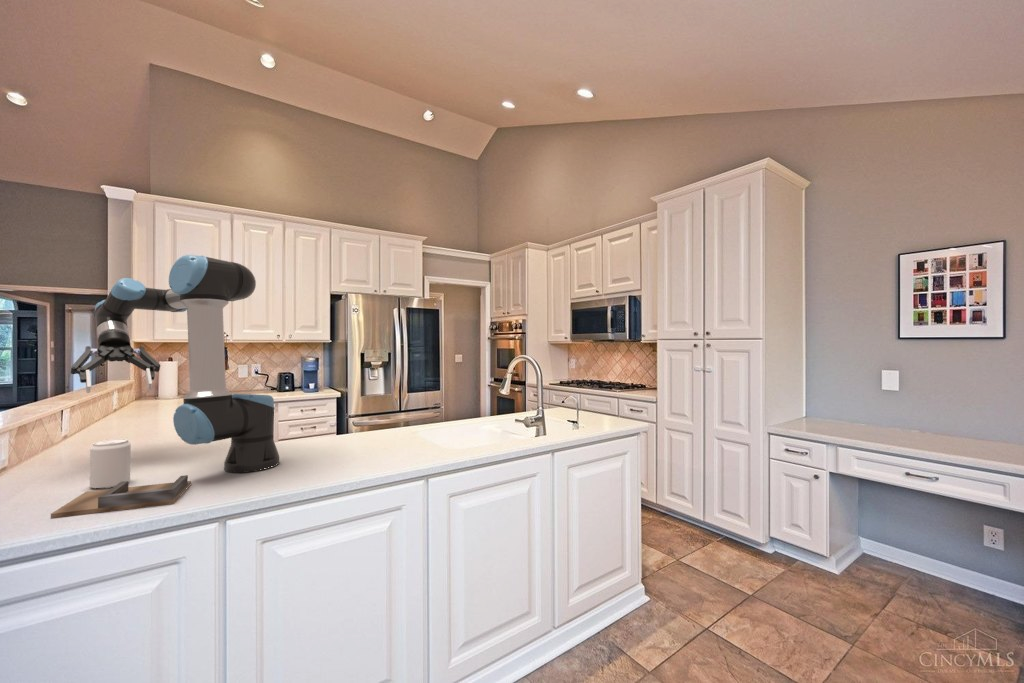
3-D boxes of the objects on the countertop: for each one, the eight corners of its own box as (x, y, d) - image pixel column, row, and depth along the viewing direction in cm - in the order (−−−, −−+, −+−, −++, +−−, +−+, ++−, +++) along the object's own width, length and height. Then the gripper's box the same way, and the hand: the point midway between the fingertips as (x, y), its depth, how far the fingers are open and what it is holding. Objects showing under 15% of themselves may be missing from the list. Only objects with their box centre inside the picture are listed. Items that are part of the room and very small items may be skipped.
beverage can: (105, 491, 113) (106, 445, 113) (81, 488, 114) (82, 444, 115) (137, 481, 121) (138, 439, 121) (114, 479, 122) (115, 437, 123)
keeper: (191, 484, 119) (191, 471, 119) (173, 503, 104) (173, 489, 104) (86, 495, 109) (86, 481, 110) (50, 518, 95) (50, 502, 95)
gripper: (161, 346, 149) (170, 392, 139) (56, 346, 130) (59, 399, 120) (164, 331, 146) (174, 377, 136) (58, 328, 127) (60, 382, 117)
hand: (120, 388), depth 128 cm, fingers open, 13 cm apart
